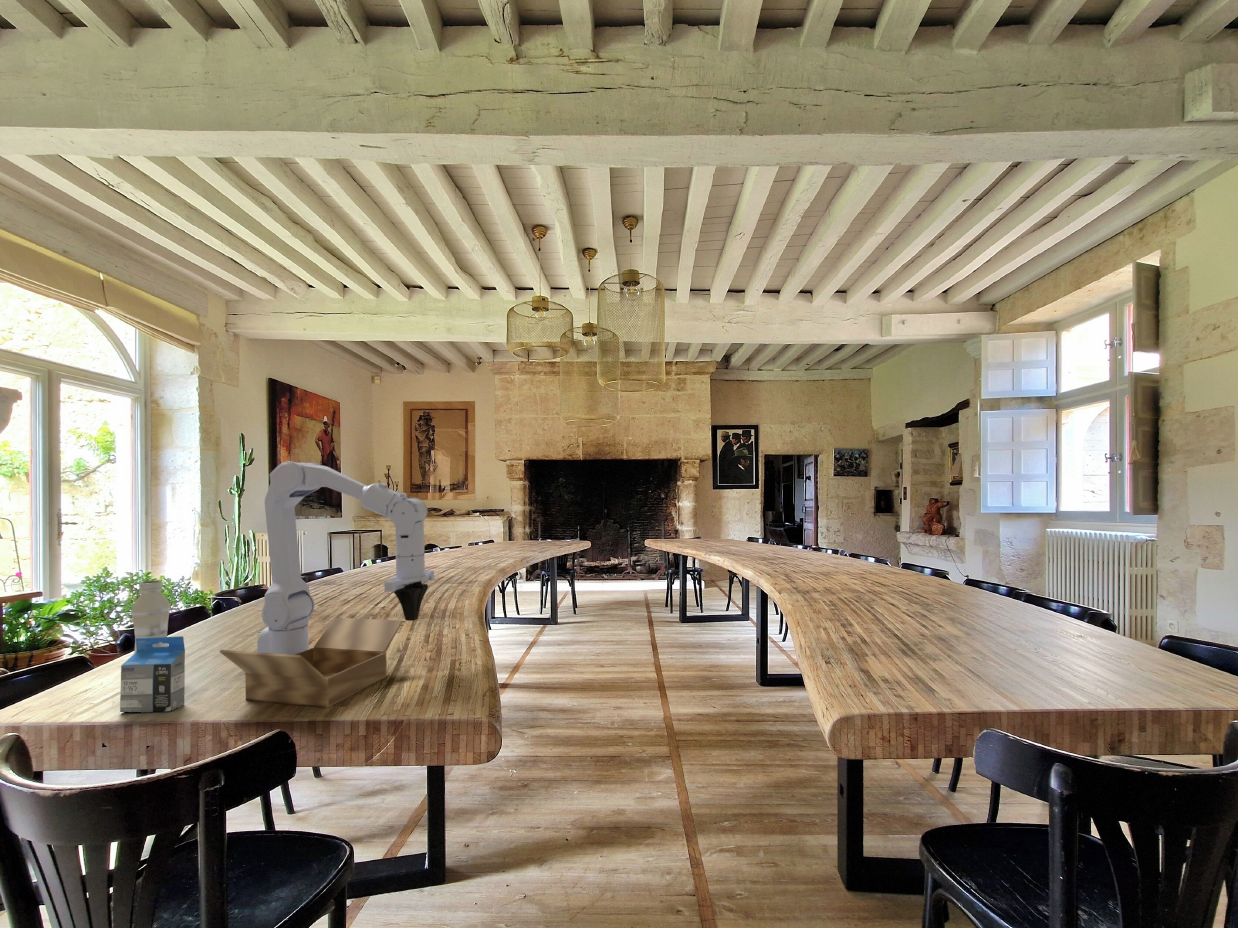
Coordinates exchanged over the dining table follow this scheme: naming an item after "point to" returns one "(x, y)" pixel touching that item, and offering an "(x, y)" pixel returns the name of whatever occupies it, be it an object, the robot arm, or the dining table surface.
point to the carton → (341, 680)
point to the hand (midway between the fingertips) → (411, 619)
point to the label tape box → (154, 676)
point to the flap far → (359, 634)
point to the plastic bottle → (151, 612)
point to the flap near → (273, 664)
